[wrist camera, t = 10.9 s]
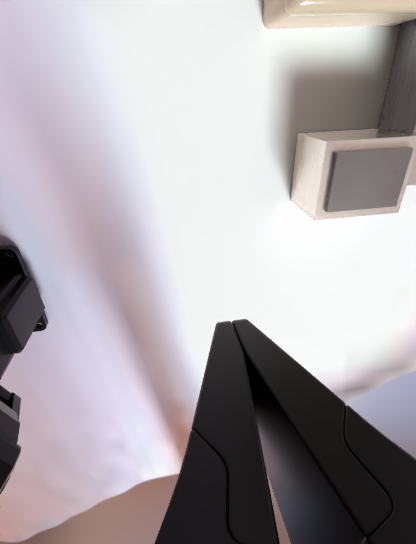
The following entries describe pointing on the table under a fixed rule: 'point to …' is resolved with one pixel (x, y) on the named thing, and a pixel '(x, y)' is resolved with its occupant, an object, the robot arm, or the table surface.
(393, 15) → the electrical outlet
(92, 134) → the table surface
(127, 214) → the table surface
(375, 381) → the table surface
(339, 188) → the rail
